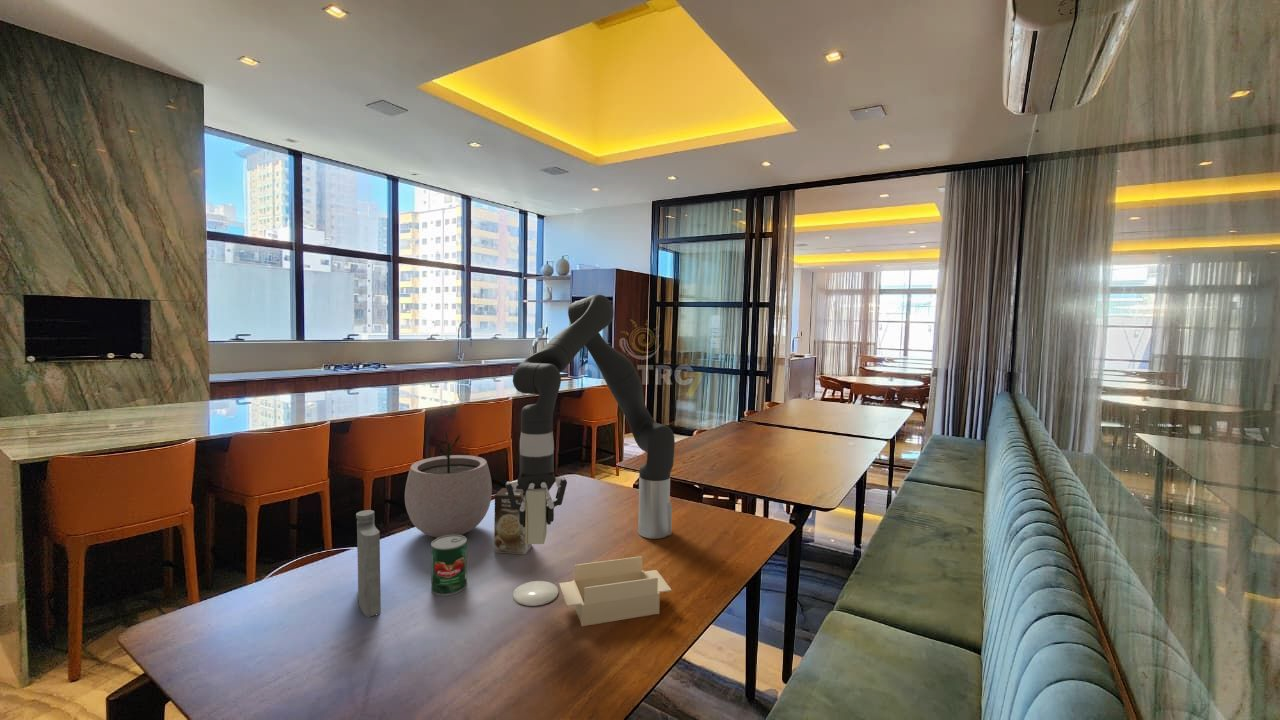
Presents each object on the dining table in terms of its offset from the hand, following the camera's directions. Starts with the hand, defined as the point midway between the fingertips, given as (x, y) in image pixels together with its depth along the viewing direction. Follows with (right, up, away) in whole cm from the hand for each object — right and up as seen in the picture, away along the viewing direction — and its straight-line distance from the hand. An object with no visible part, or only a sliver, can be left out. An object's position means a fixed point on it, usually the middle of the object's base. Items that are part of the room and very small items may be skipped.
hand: (536, 524), depth 118 cm
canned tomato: (-21, -16, +4) cm, 27 cm away
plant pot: (-32, -14, +35) cm, 49 cm away
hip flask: (-37, -16, -3) cm, 40 cm away
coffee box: (-11, -15, +25) cm, 31 cm away
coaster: (0, -16, +1) cm, 16 cm away
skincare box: (0, -4, 0) cm, 4 cm away
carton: (+18, -17, -4) cm, 25 cm away
